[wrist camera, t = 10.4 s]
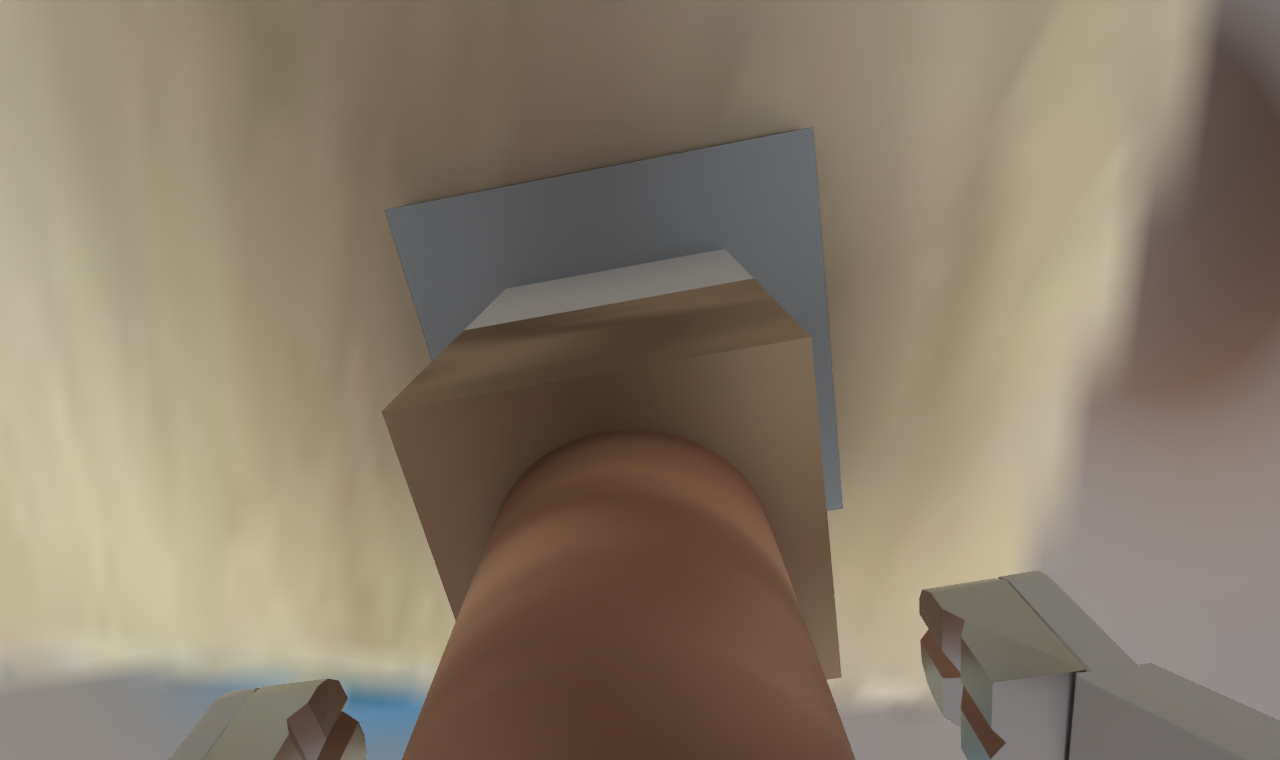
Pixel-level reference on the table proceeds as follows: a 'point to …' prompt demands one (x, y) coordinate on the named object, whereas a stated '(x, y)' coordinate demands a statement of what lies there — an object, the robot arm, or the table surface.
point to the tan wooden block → (624, 419)
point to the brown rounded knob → (630, 621)
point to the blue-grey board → (633, 240)
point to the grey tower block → (612, 287)
